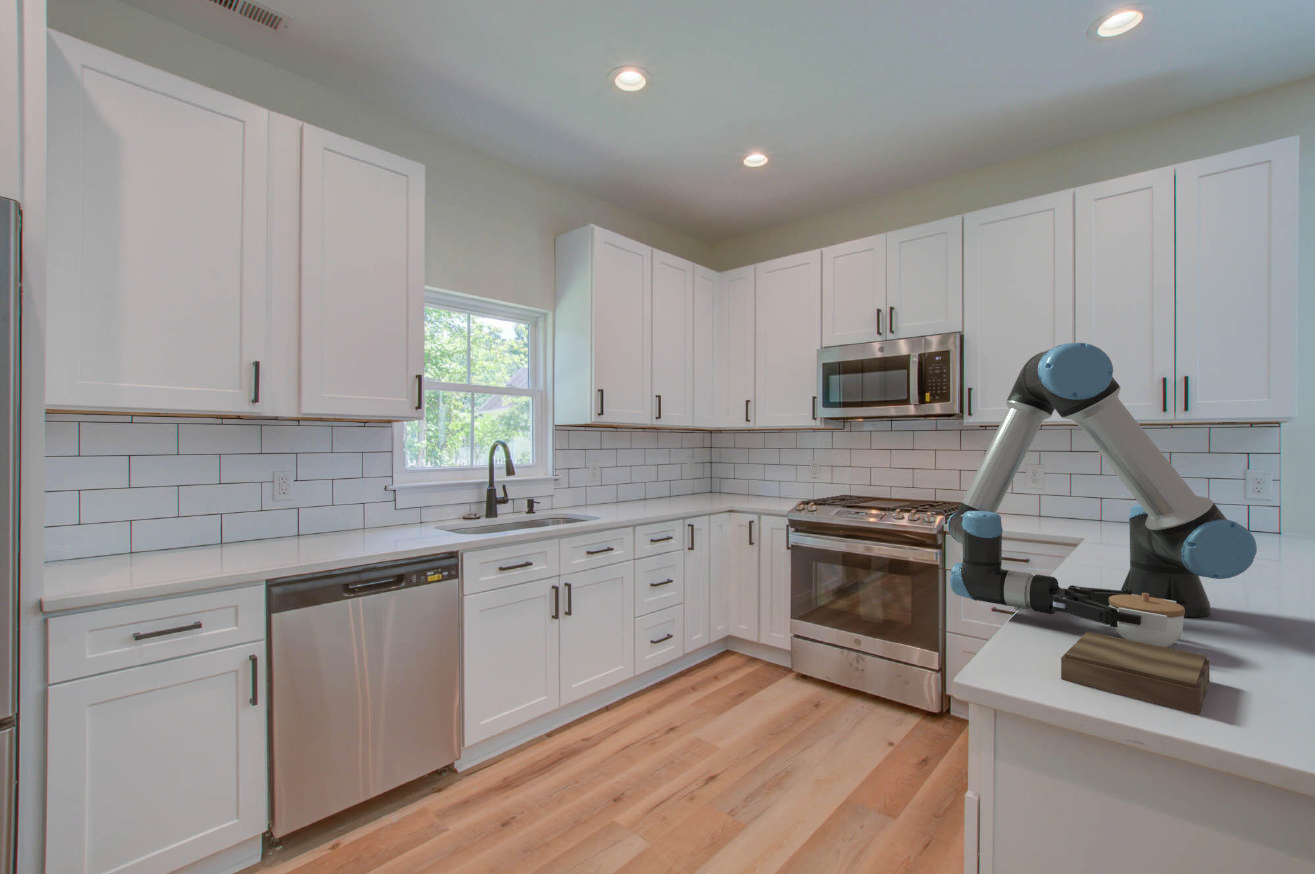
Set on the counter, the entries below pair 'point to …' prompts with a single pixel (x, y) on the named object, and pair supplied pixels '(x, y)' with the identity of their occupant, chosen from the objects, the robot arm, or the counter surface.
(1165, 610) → the lidded jar
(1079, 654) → the walnut stand
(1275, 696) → the counter surface
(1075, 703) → the counter surface
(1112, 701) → the counter surface
